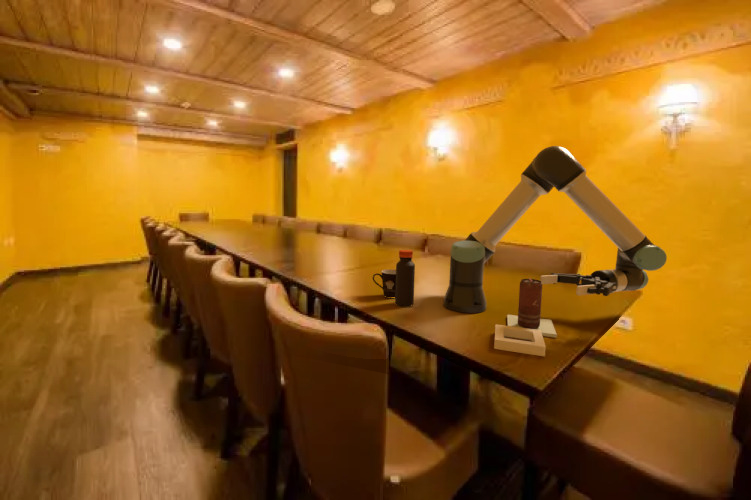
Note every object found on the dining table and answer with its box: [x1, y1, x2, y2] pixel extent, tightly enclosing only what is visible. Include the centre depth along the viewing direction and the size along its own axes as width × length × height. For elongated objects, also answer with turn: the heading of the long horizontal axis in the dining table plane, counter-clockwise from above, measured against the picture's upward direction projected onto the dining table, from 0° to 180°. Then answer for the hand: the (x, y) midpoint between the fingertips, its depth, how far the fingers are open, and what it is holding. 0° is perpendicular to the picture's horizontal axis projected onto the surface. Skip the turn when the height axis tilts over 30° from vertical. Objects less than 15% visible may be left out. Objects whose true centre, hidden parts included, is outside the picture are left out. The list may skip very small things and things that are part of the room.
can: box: [517, 278, 543, 329], centre depth 102 cm, size 6×6×14 cm
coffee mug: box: [372, 269, 396, 298], centre depth 137 cm, size 12×9×10 cm
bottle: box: [394, 249, 416, 307], centre depth 125 cm, size 7×7×20 cm
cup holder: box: [493, 324, 547, 358], centre depth 93 cm, size 12×12×2 cm
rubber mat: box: [506, 314, 558, 339], centre depth 105 cm, size 13×13×1 cm
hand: (558, 285), depth 107 cm, fingers open, 13 cm apart
